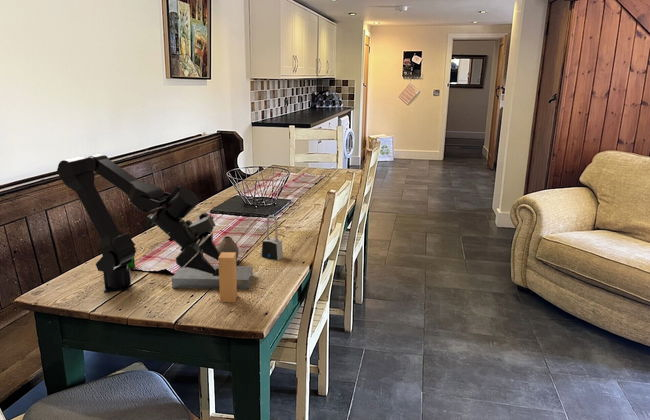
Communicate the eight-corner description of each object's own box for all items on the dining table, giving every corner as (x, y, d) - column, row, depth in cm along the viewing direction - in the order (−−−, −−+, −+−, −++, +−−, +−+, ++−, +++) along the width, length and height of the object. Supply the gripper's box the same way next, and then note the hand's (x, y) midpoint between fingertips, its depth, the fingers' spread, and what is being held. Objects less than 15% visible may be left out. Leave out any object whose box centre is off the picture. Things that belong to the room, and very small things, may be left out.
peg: (220, 301, 132) (218, 257, 128) (222, 295, 135) (221, 252, 132) (234, 301, 132) (233, 257, 128) (236, 295, 135) (235, 252, 132)
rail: (172, 287, 139) (171, 278, 138) (181, 273, 149) (181, 264, 148) (248, 289, 139) (248, 279, 139) (252, 275, 149) (252, 266, 148)
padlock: (283, 256, 165) (283, 215, 160) (277, 261, 161) (277, 218, 157) (267, 253, 167) (266, 212, 163) (260, 257, 164) (260, 215, 159)
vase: (218, 267, 155) (217, 241, 152) (216, 259, 161) (216, 234, 158) (239, 265, 156) (239, 240, 154) (237, 257, 163) (237, 233, 160)
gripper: (185, 216, 117) (232, 259, 120) (203, 197, 135) (243, 235, 138) (155, 246, 119) (202, 288, 122) (177, 223, 137) (217, 260, 140)
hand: (218, 266), depth 131 cm, fingers open, 9 cm apart
